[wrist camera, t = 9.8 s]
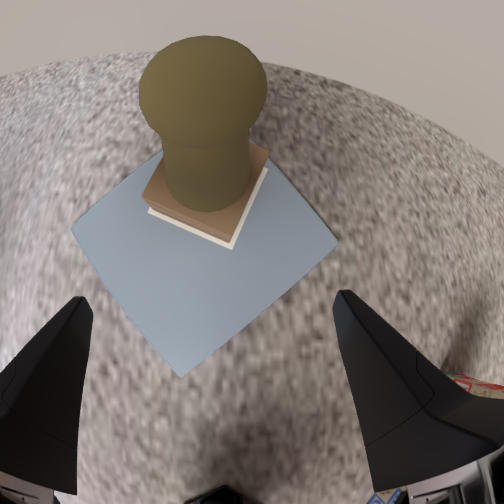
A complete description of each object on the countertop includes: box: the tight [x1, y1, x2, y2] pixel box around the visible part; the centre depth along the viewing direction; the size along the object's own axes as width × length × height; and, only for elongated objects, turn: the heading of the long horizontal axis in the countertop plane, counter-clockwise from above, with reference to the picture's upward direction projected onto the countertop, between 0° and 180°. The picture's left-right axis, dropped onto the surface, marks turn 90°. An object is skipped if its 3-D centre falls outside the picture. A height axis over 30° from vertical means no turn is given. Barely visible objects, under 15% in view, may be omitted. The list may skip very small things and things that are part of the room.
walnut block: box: [141, 142, 270, 243], centre depth 21 cm, size 7×7×4 cm
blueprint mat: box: [70, 137, 339, 378], centre depth 22 cm, size 18×16×1 cm
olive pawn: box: [139, 36, 267, 212], centre depth 13 cm, size 6×6×11 cm
